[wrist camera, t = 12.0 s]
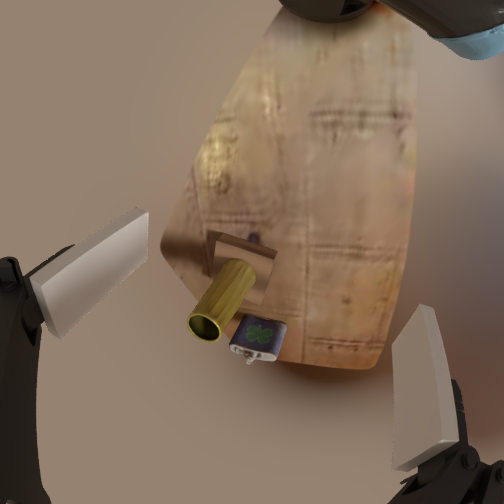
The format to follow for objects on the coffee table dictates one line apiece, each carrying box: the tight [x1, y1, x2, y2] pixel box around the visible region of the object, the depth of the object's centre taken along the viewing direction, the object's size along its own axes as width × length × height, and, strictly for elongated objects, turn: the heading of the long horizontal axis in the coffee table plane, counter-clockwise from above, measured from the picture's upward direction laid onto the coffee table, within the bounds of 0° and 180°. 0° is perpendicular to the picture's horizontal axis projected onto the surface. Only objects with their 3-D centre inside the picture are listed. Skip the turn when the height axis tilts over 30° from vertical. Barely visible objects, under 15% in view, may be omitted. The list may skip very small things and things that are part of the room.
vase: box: [187, 259, 256, 342], centre depth 43 cm, size 6×6×14 cm
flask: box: [229, 314, 287, 364], centre depth 52 cm, size 9×3×11 cm, turn 88°
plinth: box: [210, 233, 278, 305], centre depth 50 cm, size 10×10×3 cm
